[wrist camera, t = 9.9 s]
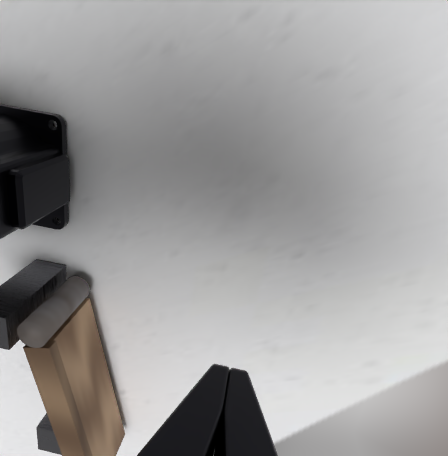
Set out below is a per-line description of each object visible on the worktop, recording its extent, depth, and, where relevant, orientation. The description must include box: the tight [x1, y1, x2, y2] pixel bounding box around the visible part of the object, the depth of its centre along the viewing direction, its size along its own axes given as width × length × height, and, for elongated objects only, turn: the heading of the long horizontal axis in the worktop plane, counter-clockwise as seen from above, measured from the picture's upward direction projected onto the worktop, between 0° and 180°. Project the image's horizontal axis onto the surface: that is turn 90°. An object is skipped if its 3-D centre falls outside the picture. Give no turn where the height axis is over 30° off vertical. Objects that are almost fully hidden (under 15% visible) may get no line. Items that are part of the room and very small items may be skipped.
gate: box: [17, 276, 125, 456], centre depth 23 cm, size 14×2×5 cm, turn 5°
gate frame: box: [0, 259, 66, 455], centre depth 23 cm, size 2×12×6 cm, turn 6°
